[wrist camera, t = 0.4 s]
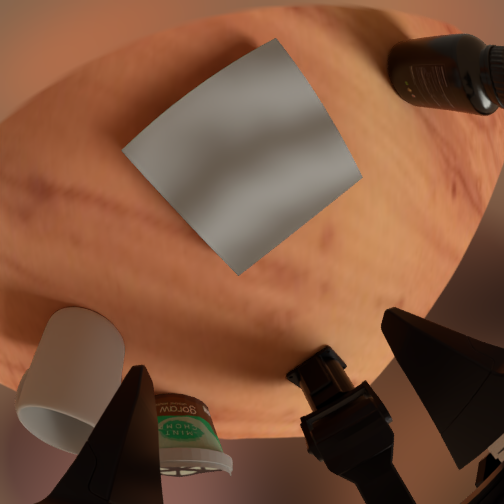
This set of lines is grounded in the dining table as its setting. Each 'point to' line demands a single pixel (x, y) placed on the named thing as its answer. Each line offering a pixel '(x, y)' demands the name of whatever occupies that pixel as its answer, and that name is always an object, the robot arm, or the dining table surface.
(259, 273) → the dining table surface
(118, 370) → the mug
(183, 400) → the food container
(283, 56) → the plate
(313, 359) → the robot arm
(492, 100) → the supplement bottle
